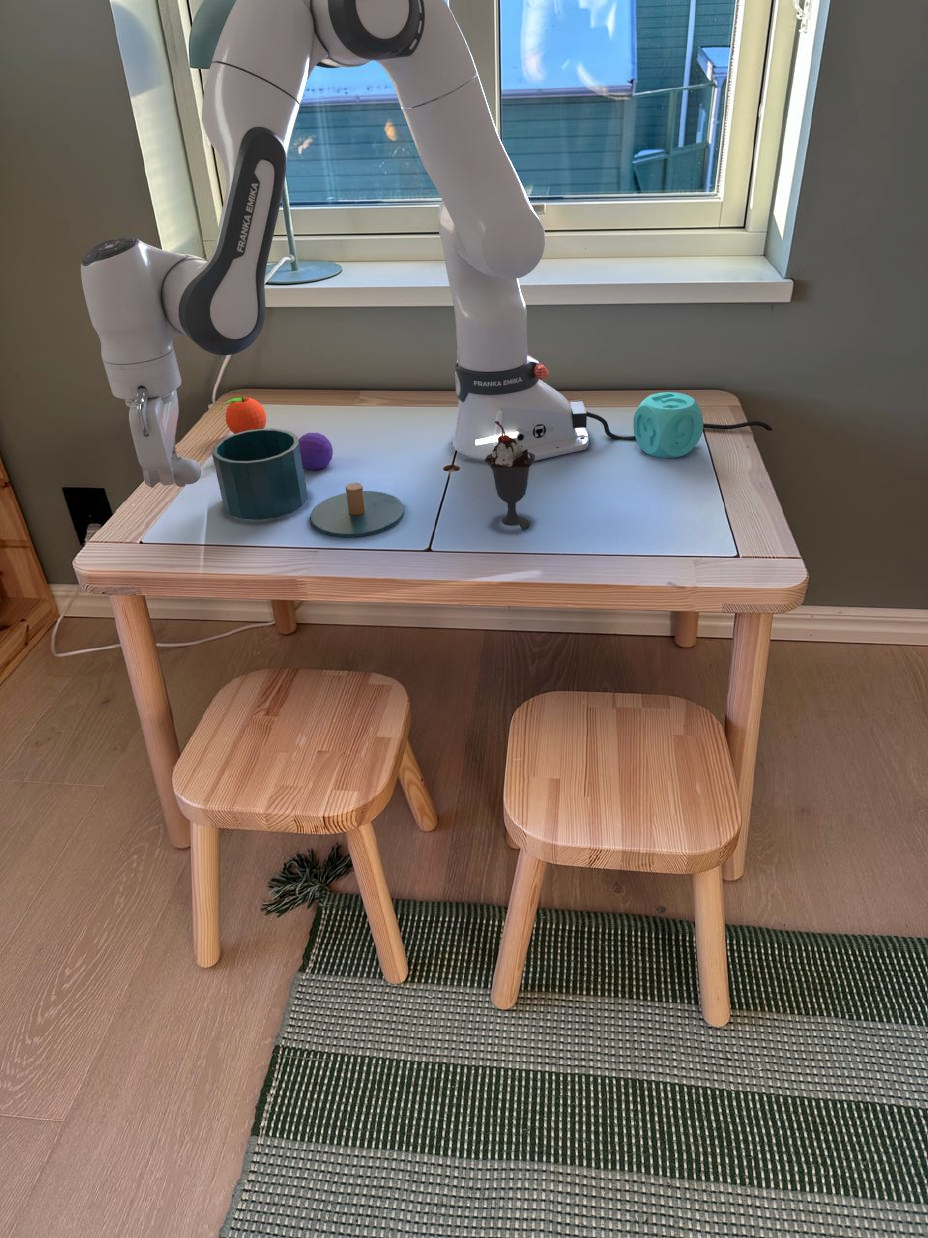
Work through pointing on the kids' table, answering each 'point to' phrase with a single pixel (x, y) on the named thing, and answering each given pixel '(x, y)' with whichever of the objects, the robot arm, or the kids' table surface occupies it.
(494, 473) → the sundae
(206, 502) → the kids' table surface
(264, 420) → the clementine
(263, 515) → the pot
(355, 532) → the lid
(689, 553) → the kids' table surface
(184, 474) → the smooth white sculpture
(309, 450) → the kendama
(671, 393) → the decorative dice
